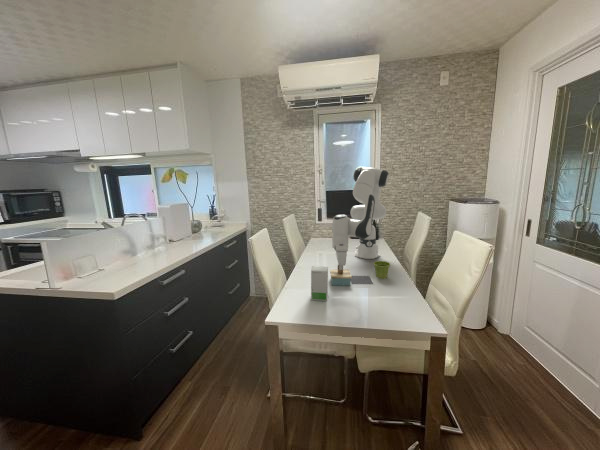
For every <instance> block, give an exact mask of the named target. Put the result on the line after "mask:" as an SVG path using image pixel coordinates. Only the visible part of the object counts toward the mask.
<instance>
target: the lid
mask: <svg viewBox="0 0 600 450" xmlns="http://www.w3.org/2000/svg"><path fill="white" fill-rule="evenodd" d="M329 272H330V273H329V274H330V280H331V279H339V278H352V276H353V275H352V274H351V271H350V269H346V268H345V269H344V268H343V269H342V270H339V265H338V264H337V269H330V270H329Z"/></svg>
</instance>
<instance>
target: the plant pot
mask: <svg viewBox="0 0 600 450" xmlns="http://www.w3.org/2000/svg"><path fill="white" fill-rule="evenodd" d="M373 265H374V270H375V277H376V278H378V279H387V278H388V275H389V274H388V273H389V269H390V266H391V263H390V262H388V261H385V260H378V261H377V260H376V261H374V262H373Z"/></svg>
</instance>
